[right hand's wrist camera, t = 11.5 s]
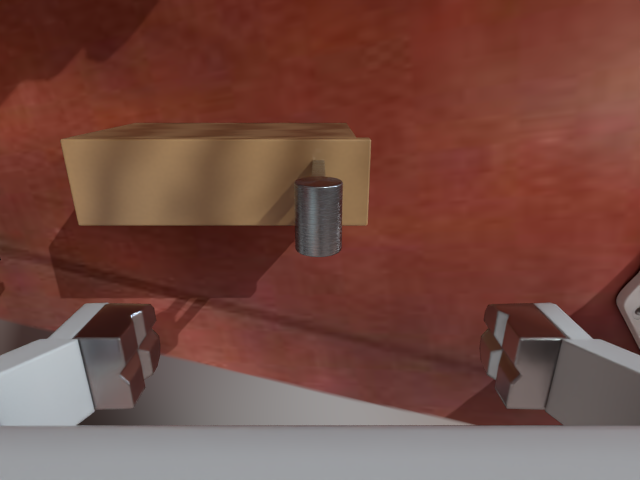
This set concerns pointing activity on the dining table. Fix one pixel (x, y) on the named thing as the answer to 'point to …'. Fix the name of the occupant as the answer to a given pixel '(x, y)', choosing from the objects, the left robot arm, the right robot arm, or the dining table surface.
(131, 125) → the brown wooden rectangular box
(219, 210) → the lid
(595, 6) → the dining table surface
